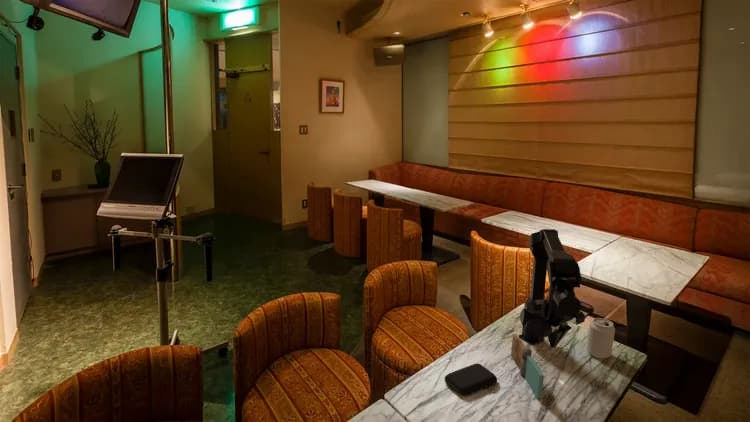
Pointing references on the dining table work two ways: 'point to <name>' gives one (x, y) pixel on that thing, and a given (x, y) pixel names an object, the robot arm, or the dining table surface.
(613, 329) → the can
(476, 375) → the carrying case or bag
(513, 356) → the fixed leaf
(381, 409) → the dining table surface
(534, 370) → the hinge leaf
